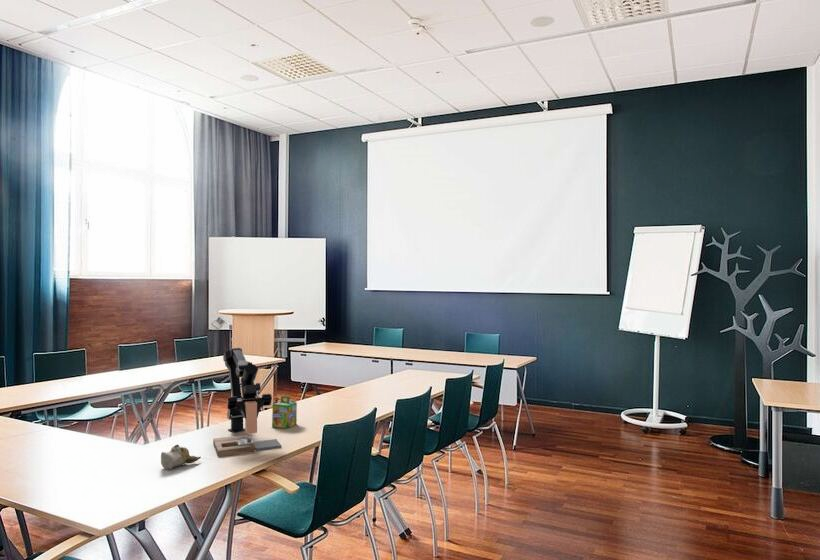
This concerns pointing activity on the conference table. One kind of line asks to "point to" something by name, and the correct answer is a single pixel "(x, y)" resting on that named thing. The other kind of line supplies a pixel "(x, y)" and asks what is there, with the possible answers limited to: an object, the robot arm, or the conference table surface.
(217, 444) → the walnut puzzle board
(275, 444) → the rubber pad
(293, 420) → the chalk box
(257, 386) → the robot arm
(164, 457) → the ceramic sculpture
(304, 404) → the conference table surface
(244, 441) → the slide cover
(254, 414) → the terracotta block
